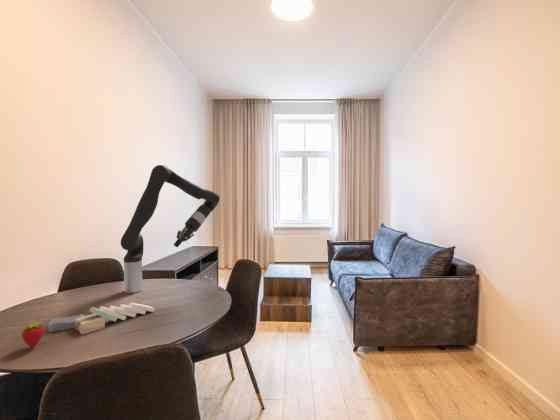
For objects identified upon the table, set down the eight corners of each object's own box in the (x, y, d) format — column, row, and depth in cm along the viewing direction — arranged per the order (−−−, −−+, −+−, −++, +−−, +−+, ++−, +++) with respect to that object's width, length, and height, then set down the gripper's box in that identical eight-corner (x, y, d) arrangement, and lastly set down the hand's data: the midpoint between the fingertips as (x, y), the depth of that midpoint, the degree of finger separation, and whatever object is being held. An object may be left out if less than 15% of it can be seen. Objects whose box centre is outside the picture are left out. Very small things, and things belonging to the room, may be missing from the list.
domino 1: (115, 321, 125) (93, 313, 119) (110, 318, 128) (89, 310, 122) (117, 318, 126) (96, 309, 120) (112, 315, 129) (91, 306, 123)
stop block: (75, 328, 120) (75, 318, 120) (97, 322, 126) (97, 313, 126) (82, 334, 115) (81, 324, 115) (104, 327, 121) (104, 317, 121)
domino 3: (134, 317, 131) (113, 311, 125) (129, 314, 135) (108, 308, 128) (136, 313, 132) (115, 307, 125) (131, 311, 135) (110, 305, 128)
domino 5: (153, 312, 138) (133, 308, 131) (148, 309, 141) (128, 305, 134) (155, 308, 138) (135, 304, 131) (149, 306, 142) (130, 302, 135)
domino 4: (144, 314, 135) (123, 310, 128) (139, 311, 138) (119, 307, 131) (146, 310, 135) (125, 306, 128) (141, 308, 139) (120, 303, 132)
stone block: (51, 329, 124) (47, 333, 115) (52, 317, 125) (47, 320, 116) (85, 324, 130) (83, 328, 121) (85, 313, 131) (84, 316, 122)
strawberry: (44, 341, 109) (44, 314, 109) (43, 349, 103) (43, 320, 103) (23, 345, 106) (22, 317, 106) (21, 354, 100) (20, 324, 99)
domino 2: (124, 320, 128) (103, 312, 122) (119, 317, 131) (98, 309, 125) (126, 316, 129) (105, 308, 122) (121, 314, 132) (101, 305, 126)
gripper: (184, 216, 166) (164, 240, 157) (198, 217, 158) (177, 242, 149) (192, 225, 171) (173, 249, 162) (206, 226, 162) (187, 251, 153)
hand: (175, 246), depth 155 cm, fingers closed
